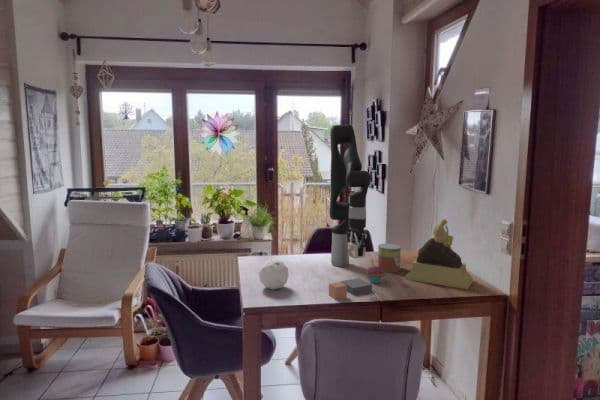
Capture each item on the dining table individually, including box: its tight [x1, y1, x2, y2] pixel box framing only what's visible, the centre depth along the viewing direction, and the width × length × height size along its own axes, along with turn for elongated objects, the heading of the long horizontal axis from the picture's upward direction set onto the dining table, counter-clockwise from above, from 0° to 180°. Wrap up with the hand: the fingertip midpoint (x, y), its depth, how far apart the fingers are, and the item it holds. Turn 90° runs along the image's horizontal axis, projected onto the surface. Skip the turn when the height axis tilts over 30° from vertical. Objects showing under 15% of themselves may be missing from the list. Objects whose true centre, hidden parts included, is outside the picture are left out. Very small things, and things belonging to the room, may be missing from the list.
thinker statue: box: [405, 218, 474, 290], centre depth 206 cm, size 28×13×30 cm, turn 60°
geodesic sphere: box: [258, 258, 290, 290], centre depth 196 cm, size 14×14×14 cm
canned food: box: [377, 243, 402, 273], centre depth 224 cm, size 11×11×12 cm
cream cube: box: [348, 242, 367, 259], centre depth 193 cm, size 6×6×6 cm
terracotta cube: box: [328, 281, 348, 301], centre depth 186 cm, size 6×6×6 cm
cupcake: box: [365, 257, 386, 284], centre depth 205 cm, size 9×8×12 cm
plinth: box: [340, 277, 373, 295], centre depth 195 cm, size 10×10×3 cm
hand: (356, 254), depth 193 cm, fingers closed on cream cube, 5 cm apart
